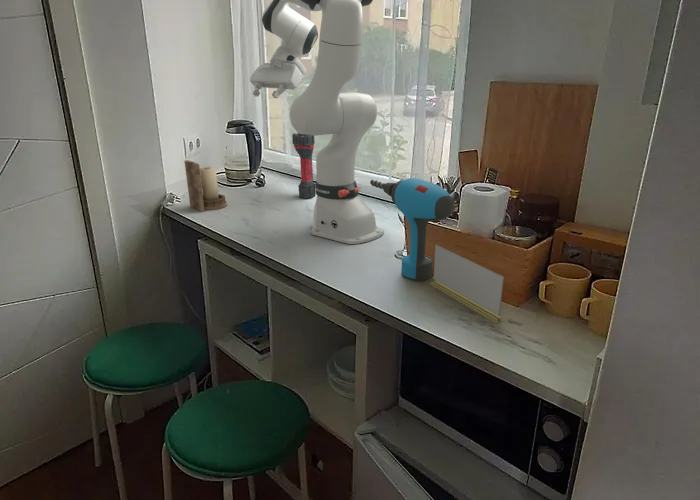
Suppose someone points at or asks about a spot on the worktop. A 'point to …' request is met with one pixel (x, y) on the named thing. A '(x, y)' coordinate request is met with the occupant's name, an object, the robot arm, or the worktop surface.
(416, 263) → the power drill
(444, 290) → the sign holder
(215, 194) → the paper roll
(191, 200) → the candle holder
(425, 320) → the worktop surface
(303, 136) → the flashlight
